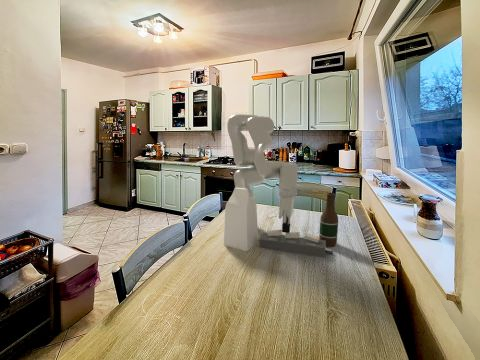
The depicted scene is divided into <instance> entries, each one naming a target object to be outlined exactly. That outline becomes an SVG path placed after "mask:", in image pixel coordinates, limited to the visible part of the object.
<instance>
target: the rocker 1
mask: <svg viewBox="0 0 480 360" xmlns="http://www.w3.org/2000/svg"><path fill="white" fill-rule="evenodd" d="M266 233H267V234H268V236H277V235H283V232H282V229H273V230H268V232H266Z"/></svg>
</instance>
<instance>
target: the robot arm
mask: <svg viewBox="0 0 480 360" xmlns="http://www.w3.org/2000/svg"><path fill="white" fill-rule="evenodd" d="M226 128H227V134H228V136H229V139H230V142H231V148H232V155H233V161H234V164H235V165H236V166H237V167H247V168H240V169H237V170H236V171H235V172H234V173H233V181H234V189H235V188H244V189H248V191H249V194H250V196H251V197H252V198H253V199H254V193H253V190H252V189H251V187H250V186H256V185H261V184H262V183H264V181H265V180H271V179H273V180H274V179H279V184H278V196H279V197H280V199H279V205H278V206H279V209H278V219H279V220H281V219H282V223H281V224H282V225H281V226H282V227H281V230H282V233H285V234H286V233H290V231H291V217H292V215H293V213H294V200H295V199H294V198H296V197H297V193H298V192H297V191H298V190H297V187H298V169H299V168H298V165H297V164H295V163H288V162H286V161H284V160H283V161H281V160H280V161H267V159H266V157H265V155H264V152H265V151H266V150H268V149H269V148H271V146H272V144H273V138H272V137H271V135H270V134H272V133H273V132H274V130H275V123H274V120H273V119H272V118H271V117H269V116H262V115H258V114H257V115H254V114H244V113H243V114H242V113H241V114H239V113H237V114H233V115H231V116H229V118H228V120H227V126H226ZM242 132H248V134H249V135H250V138H251V140H252V142H253V144H254V148H253V147H252V148H249V146H248V145H249V144H248V139H247V137H246V136H245V134H244V133H242Z"/></svg>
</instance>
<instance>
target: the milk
mask: <svg viewBox="0 0 480 360" xmlns="http://www.w3.org/2000/svg"><path fill="white" fill-rule="evenodd" d="M224 208H225V209H224V228H223V229H224V230H223V231H224V232H223V233H224V235H223V236H224V237H223V246H224V247H225V246H226V247H230V248H234V249H238V250H242V251H246V252H248V251H249V250H250V249H251V248H252V247H253V246H255V244H257V243H259V233H258V232H259V230H258V229H259V228H258V210H257V208H258V205H257V202H256V200H255V199H254V197H253V198H252V197H251V196H250V194H249V191H248V189H244V188H235V187H234V189H233V192H232V194H231V196H230V197H229V199H228V201H227V202H226V204H225V207H224Z"/></svg>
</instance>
